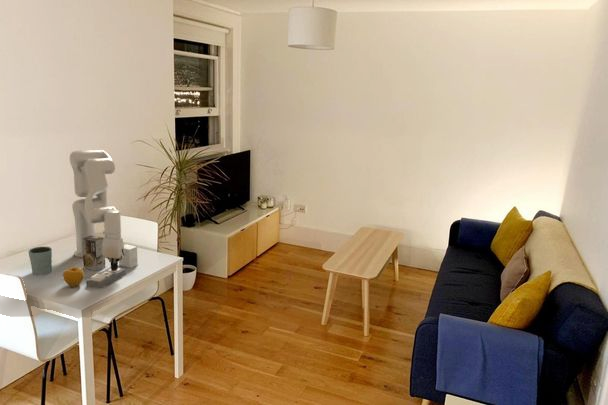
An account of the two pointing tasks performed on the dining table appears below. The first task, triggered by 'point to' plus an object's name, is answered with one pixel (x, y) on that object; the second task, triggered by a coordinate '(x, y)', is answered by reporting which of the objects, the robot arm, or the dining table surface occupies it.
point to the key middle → (107, 274)
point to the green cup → (41, 260)
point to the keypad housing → (106, 279)
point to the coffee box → (93, 253)
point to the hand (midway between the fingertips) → (114, 269)
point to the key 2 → (114, 271)
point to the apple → (73, 276)
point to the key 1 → (98, 277)
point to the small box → (129, 256)
